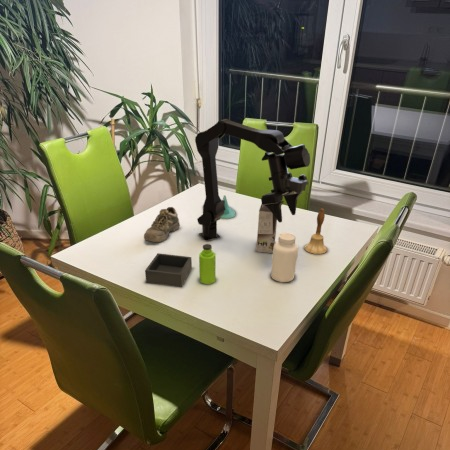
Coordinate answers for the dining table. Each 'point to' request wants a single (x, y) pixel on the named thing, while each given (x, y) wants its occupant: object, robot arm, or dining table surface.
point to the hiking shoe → (163, 225)
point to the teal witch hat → (227, 210)
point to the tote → (168, 269)
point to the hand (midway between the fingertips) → (287, 218)
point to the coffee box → (266, 230)
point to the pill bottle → (284, 258)
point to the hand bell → (317, 237)
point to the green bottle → (207, 265)
